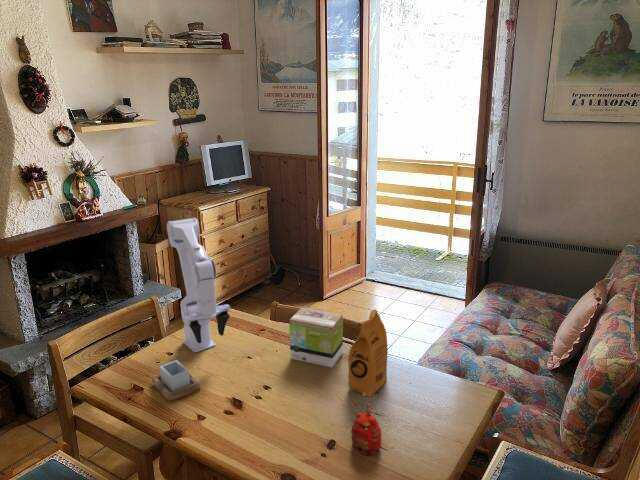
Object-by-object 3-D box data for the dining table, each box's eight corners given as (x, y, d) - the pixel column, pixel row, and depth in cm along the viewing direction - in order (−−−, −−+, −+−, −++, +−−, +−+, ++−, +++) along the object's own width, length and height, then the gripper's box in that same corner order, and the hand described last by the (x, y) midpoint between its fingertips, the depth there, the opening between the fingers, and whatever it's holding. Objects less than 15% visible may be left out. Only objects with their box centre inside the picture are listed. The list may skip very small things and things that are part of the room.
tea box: (289, 360, 169) (287, 318, 165) (302, 345, 178) (300, 306, 173) (333, 368, 164) (332, 326, 159) (343, 353, 172) (343, 312, 168)
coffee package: (342, 389, 153) (342, 321, 146) (362, 369, 163) (363, 305, 156) (372, 399, 148) (373, 329, 141) (391, 378, 158) (393, 312, 151)
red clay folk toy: (346, 449, 128) (346, 397, 124) (359, 433, 134) (359, 382, 129) (374, 460, 124) (375, 407, 120) (386, 443, 130) (387, 391, 125)
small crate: (161, 383, 156) (159, 366, 154) (178, 377, 160) (176, 359, 158) (173, 395, 150) (171, 377, 149) (190, 388, 154) (188, 370, 152)
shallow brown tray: (153, 384, 157) (152, 377, 156) (182, 373, 163) (182, 366, 162) (169, 402, 148) (168, 395, 147) (200, 390, 154) (199, 383, 153)
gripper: (189, 309, 152) (194, 350, 156) (233, 296, 161) (236, 335, 165) (179, 301, 157) (184, 341, 162) (222, 289, 166) (226, 327, 170)
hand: (210, 338), depth 164 cm, fingers open, 7 cm apart
